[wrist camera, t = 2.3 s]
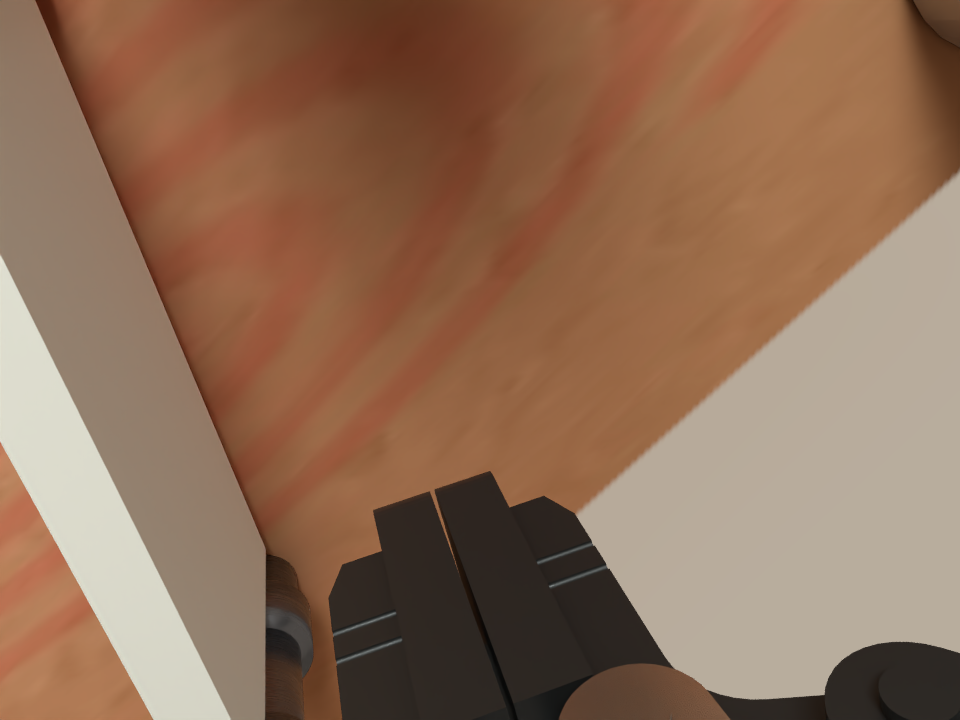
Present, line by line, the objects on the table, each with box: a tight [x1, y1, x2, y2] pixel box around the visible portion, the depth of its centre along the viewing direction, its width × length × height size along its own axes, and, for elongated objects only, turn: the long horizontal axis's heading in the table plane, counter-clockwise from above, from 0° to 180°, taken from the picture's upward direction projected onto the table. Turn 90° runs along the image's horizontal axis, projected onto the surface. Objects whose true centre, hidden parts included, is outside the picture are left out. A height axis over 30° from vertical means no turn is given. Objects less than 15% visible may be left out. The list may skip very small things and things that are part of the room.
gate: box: [0, 0, 266, 720], centre depth 20 cm, size 20×2×11 cm, turn 14°
